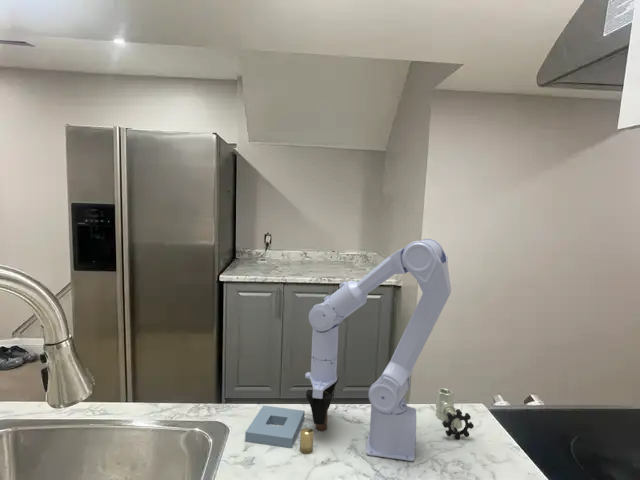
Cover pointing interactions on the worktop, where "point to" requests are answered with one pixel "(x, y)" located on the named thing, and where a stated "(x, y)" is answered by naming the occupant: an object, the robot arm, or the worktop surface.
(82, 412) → the worktop surface
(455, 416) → the valve
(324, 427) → the walnut pin
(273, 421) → the hole plate
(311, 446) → the brass pin
